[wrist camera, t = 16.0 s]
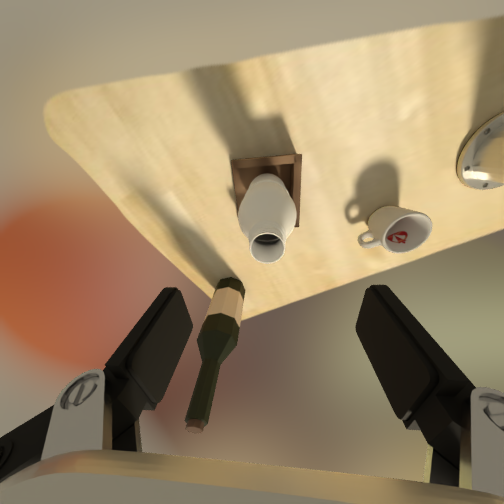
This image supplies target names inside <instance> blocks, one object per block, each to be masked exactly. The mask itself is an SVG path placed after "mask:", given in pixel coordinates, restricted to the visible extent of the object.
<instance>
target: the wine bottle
mask: <svg viewBox="0 0 504 504" xmlns="http://www.w3.org/2000/svg"><path fill="white" fill-rule="evenodd" d="M244 295H245V289H244V286H243V284H242V282H241V281H239V280H236V279H234V278H232V277H230V278H225V279H221V280H220V282H219V283H218V285H217V287H216V290H215V292H214V295H213V298H212V301H211V303H210V306H209V309H208V312H207V315H206V317H205V320H204V322H203V325H202V328H201V330H200V333H199V336H198V338H197V343H198V347H199V351H200V355H201V359H202V365H201V368H200V372H199V375H198V378H197V382H196V385H195V388H194V391H193V395H192V398H191V401H190V405H189V408H188V411H187V415H186V418H185V422H186V423H187V425H186V430H187V431H188V432H192V433H201V432H202V431H203V428H204V426H206V425H207V424H208V420H209V415H210V411H211V406H212V401H213V397H214V392H215V387H216V383H217V378H218V374H219V369H220V365H221V364H222V362H223V361H224V360H225V359H226V358H227V356H228V355H229V354H230V353H231V351H232V350H233V349H234V348H235V346H237V341H238V334H239V328H240V322H241V315H242V309H243V302H244Z"/></svg>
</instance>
